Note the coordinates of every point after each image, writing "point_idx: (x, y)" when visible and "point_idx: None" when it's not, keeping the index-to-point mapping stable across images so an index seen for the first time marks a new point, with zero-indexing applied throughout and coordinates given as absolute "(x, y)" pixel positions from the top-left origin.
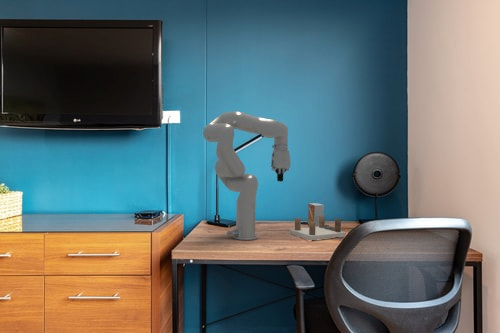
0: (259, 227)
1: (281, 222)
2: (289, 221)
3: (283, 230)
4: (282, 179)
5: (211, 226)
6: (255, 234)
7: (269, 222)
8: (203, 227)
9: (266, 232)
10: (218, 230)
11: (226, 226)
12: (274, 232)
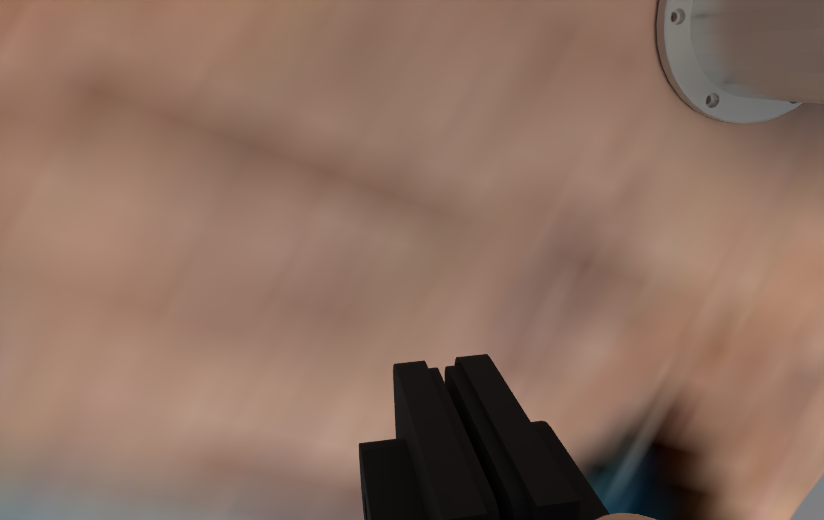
0: (447, 338)
1: (140, 485)
2: (33, 511)
3: (305, 155)
4: (422, 385)
5: (752, 464)
6: (682, 4)
7: (255, 507)
8: (814, 446)
9: (496, 133)
10: (782, 325)
11: (662, 439)
12: (430, 106)
